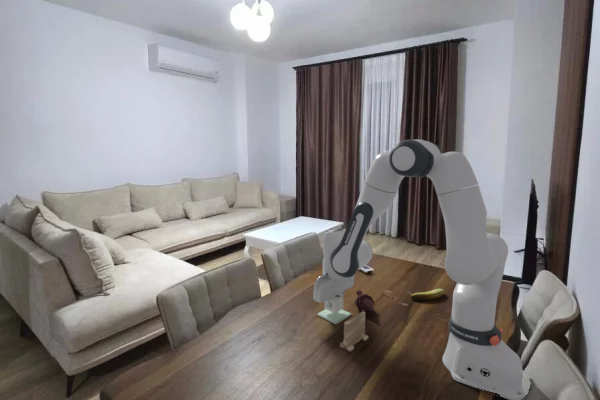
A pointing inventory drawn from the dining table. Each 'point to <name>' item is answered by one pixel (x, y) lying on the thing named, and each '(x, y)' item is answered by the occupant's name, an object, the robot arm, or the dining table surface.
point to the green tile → (334, 315)
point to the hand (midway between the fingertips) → (334, 304)
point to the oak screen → (354, 331)
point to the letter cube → (336, 303)
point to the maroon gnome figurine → (364, 302)
